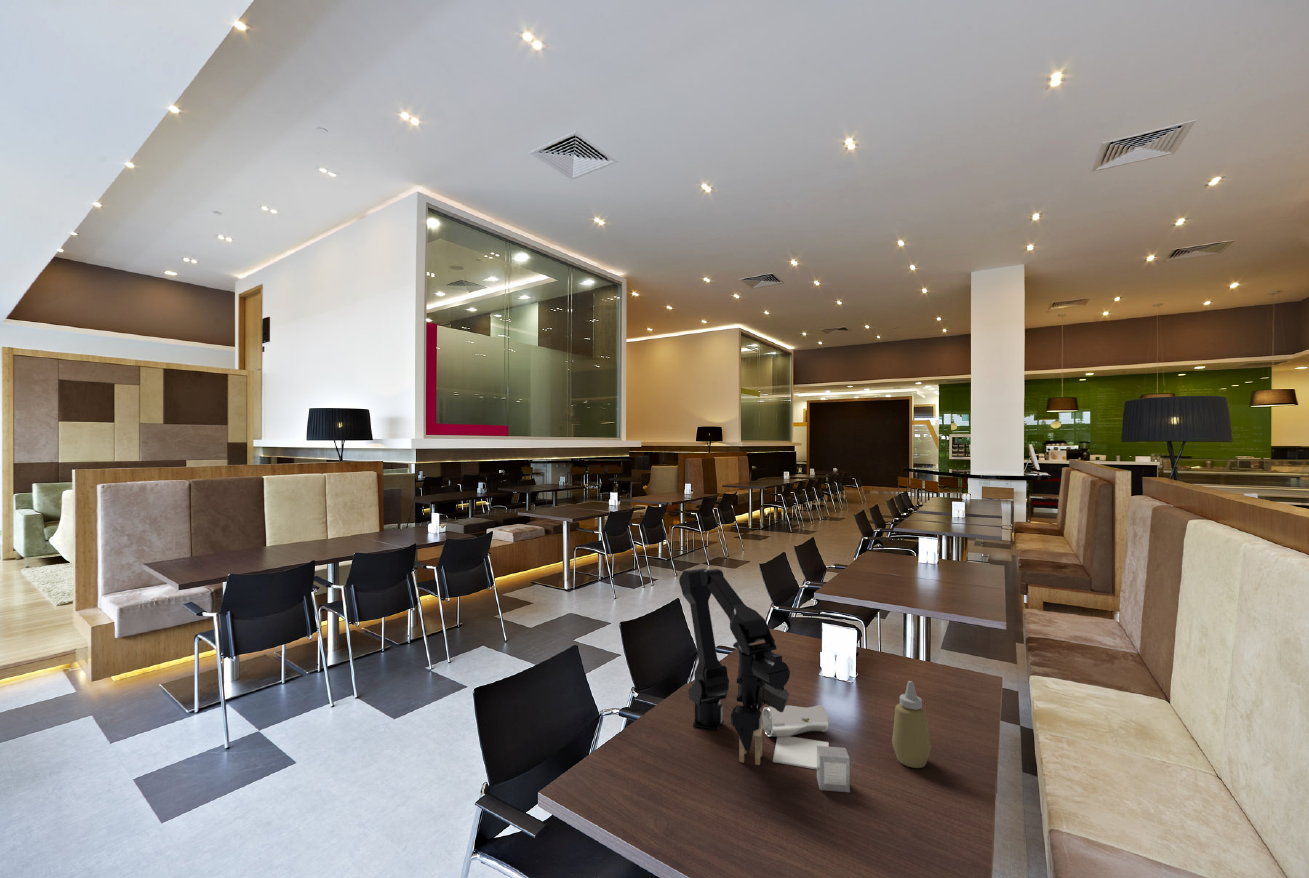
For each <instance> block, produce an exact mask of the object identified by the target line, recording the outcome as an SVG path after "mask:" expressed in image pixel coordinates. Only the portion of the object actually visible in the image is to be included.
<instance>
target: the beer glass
mask: <svg viewBox="0 0 1309 878" xmlns="http://www.w3.org/2000/svg"><path fill="white" fill-rule="evenodd" d="M761 719H762V720H763V728H762V729H763V730H764V733H765V735H766V736H767V737H768V738H769V737H774V738H775V737H776V738H777V737H786V736H791V737H794V736H796V735H799V734H803V733H807V732H819V733H820V732H821V733H825V732H827V731H828V729H829V717H828V714H827V711H826V709H825V707H824V706H823V705H821V704H819V705H813V706H809V707H803V706H796V705H787V704H786V706H785V709H784V711H783V712H779V711H777V710H776V709H775V708H773V707H771V706H764V707H763V710H762V711H761Z"/></svg>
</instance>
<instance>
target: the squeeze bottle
mask: <svg viewBox="0 0 1309 878" xmlns="http://www.w3.org/2000/svg"><path fill="white" fill-rule="evenodd" d="M894 709H895V710H894V718H893V729H892V730H893V731H892V738H891V744H892V747H893V750H894V752H895V755H896V759H897V760H898V762H899V763H901V765H904V766H905V767H910V768H913V769H920V768H921V769H922V768H924V767H925V766H926V764H927V762H928V759H929V757H930V754H931V750H932V747H931V738H930V728H929V722H928V712H927V711H926V709H925V708H924V707H923V699H922V698H921V697H919V696H918V695H917V692H916V687H915V683H914V681H911V680H908V681H907V684H906V688H905V693H903V694H900V695H899V703H897V704H896V705H895V708H894Z"/></svg>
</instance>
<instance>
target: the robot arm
mask: <svg viewBox="0 0 1309 878" xmlns="http://www.w3.org/2000/svg"><path fill="white" fill-rule="evenodd" d="M678 580H679V582H678V583H679V586H680V588H681V592H682V595H683V597H684V599H686V601H687V602H688V603H689V605H690V606H689V607H690V611H691V619H692V620H691V621H692V625H693V630H694V631H693V632H694V639H695V647H696V653H697V659H698V661H697V662H698V663H697V665H696V668H695V671H694V682H693V684H692V685H691V686H690V687H689V689H688V691H687V692H688V698H689V699H690V701H692V702H693V703H694V720H693V723H692V727H695V728H701V729H708V730H713V731H718V730H719V728H720V725H721V724H722V722H723V719H724V717H723V713H724V710H723V709H724V707H723V704H722V703H721V700H726V699H727V696H728V693H729V688H730V679H729V675H728V667H727V666H726V665H723V664H722V663H721V662H720V661H719V659H718V655H717V649H716V647H717V646H716V643H715V642H716V641H715V636H714V635H715V634H714V629H713V624H712V616H711V610H710V604H709V602H710V598H711V595H712V596H713V597H714V598H715V600H716V601H717V603H718V605H719V606H720V608H721V609H722V610H723V612H724V613H725V615H726V616H727V618H728V619H729V629H730V631H731V633H732V635H733V637H734V638H735V640H736V641H735V642H734V643H732V644H733V645H732V647H733V648H735V649H737V661H738V662H737V667H738V668H737V671H738V672H737V677H736V684H738V685H737V689H738V690H737V695H736V702H738V703H742V705H739V704H738V705H736V706H735V707H733V708H732V712H731V714H730V725H731V726H732V727H734V729H735V731H736V733H737V736H738V738H739V737H740V740H741V742H742V744H743V746H744V749H745V750H746V751H747V752H750V751H751V749H752V745H753V744H752V743H753V739H754V738H753V737H754V736H753V733H754V731H755V730H758V729H759V728H760V725H761V719H762V711H761V708H763V707H764V705H766V706H767V705H768V707H773V708H775V709H776V710H777V711H779V712H783V711H784V709H785V706H786V705H787V702H788V700H789V696H790V693H789V690H788V689H786V685H787V683H788V681H789V679H790V675H791V672H790V671H791V670H790V669H789V666H788V664H786V662H784V661H783V656H782V655H781V654H779V653H775V652H773V651H776V650H777V646H776V643H775V642H776V640H775V639H774V637H773V635H772V633H771V630H770V627H769V625H768V623H767V620H765V618H764V617H763V616H762V615H761V614H760V613H759V612H758V611H757V610H755V609H753V608H751V607H748V606H747V605H746V604H745V603H744V601H743V600H742V599H741V598H740V596H739V595H738V593H737V592H736V591H735V589H734V588H733V587H732V586H731V584H730V583H729V582H728V580H727V579H726V578H725V576H724V573H723V570H721V569H719V568H712V569H706V568H695V569H687V570H685V569H684V570H683V571H682V572H681V575H679V579H678ZM760 642H762V643H760ZM755 643H757V644H755Z"/></svg>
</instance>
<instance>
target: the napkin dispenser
mask: <svg viewBox="0 0 1309 878" xmlns="http://www.w3.org/2000/svg"><path fill="white" fill-rule="evenodd" d="M850 763H851V762H850V756H849V754H848V751H847V749H846V747H838V746H829V747H826V746H817V769H816V780H817V783H818V789H819V790H820V791H830V792H840V793H841V792H842V793H851V789H850V788H851V786H850V785H851V783H850V782H851V781H850V780H851V779H850V775H851V774H850V773H851V772H850V767H851V766H850V765H851V764H850Z"/></svg>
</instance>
